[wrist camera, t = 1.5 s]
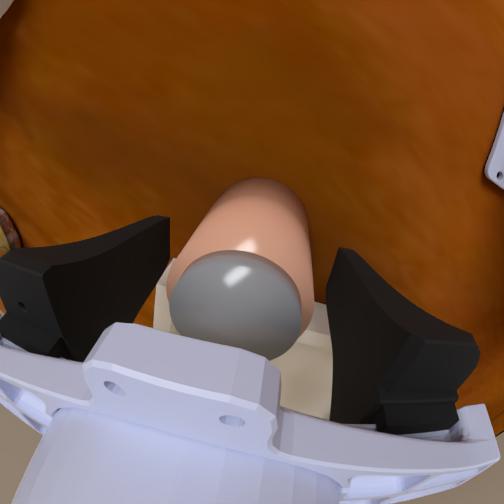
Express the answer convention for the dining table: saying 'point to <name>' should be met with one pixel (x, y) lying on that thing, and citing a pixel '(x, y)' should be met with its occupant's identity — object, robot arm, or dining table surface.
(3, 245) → the sauce bottle
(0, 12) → the honey pot
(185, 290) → the shaker
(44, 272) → the robot arm
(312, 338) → the dish
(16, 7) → the dining table surface
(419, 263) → the dining table surface
